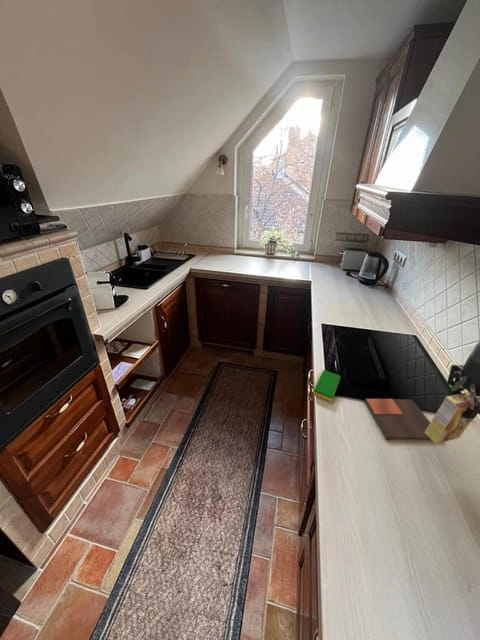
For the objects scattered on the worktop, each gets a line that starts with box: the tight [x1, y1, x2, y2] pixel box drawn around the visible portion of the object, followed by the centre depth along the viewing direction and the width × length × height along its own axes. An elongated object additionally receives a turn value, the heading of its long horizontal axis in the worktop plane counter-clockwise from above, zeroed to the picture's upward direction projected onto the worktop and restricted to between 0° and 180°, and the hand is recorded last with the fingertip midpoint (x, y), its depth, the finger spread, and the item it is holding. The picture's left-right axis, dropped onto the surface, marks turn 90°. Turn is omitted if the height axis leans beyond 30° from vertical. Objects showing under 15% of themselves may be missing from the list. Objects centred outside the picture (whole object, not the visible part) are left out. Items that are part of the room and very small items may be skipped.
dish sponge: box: [312, 369, 342, 402], centre depth 100 cm, size 7×14×2 cm, turn 149°
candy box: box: [425, 391, 478, 445], centre depth 71 cm, size 9×4×15 cm, turn 104°
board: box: [364, 398, 431, 440], centre depth 88 cm, size 18×16×1 cm
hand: (459, 409), depth 69 cm, fingers closed on candy box, 4 cm apart
